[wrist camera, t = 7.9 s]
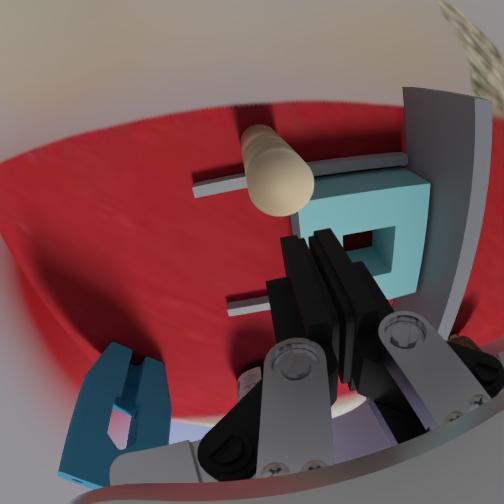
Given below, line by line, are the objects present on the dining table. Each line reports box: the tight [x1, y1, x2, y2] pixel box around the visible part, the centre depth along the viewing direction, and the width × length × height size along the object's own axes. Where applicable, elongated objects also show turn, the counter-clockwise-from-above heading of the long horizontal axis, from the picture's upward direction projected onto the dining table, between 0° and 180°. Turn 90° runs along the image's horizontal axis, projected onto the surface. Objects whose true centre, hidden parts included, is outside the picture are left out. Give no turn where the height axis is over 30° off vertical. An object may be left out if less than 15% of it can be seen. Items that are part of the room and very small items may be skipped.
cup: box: [447, 332, 482, 352], centre depth 38 cm, size 8×7×8 cm
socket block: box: [290, 167, 430, 300], centre depth 27 cm, size 12×12×5 cm
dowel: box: [240, 124, 314, 216], centre depth 19 cm, size 3×3×12 cm
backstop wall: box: [192, 87, 492, 341], centre depth 25 cm, size 22×28×10 cm
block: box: [58, 342, 172, 490], centre depth 29 cm, size 12×5×20 cm, turn 56°
